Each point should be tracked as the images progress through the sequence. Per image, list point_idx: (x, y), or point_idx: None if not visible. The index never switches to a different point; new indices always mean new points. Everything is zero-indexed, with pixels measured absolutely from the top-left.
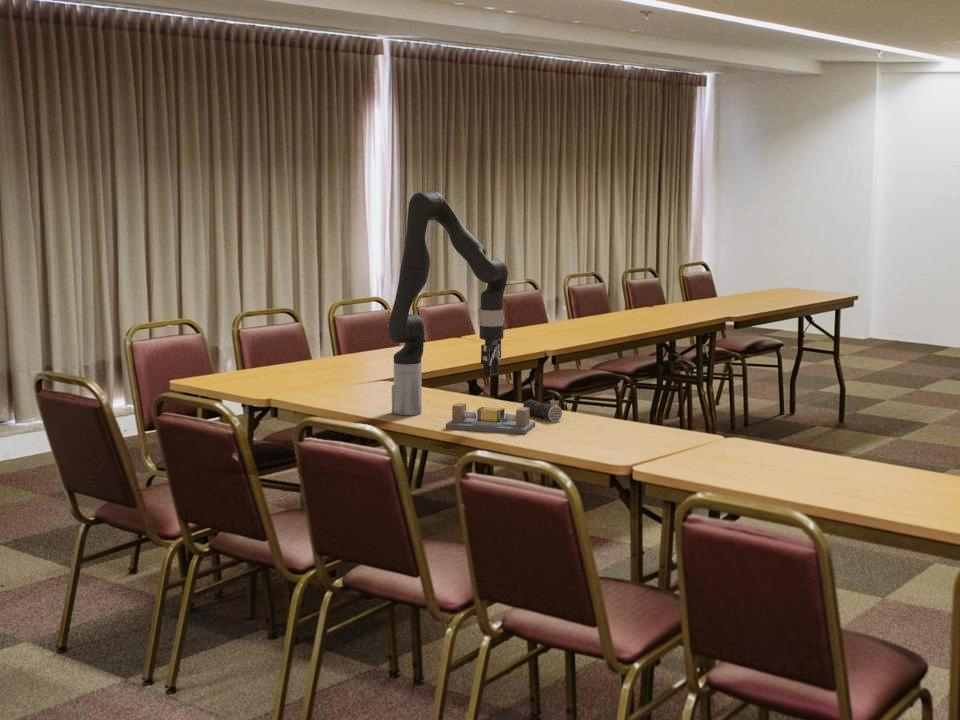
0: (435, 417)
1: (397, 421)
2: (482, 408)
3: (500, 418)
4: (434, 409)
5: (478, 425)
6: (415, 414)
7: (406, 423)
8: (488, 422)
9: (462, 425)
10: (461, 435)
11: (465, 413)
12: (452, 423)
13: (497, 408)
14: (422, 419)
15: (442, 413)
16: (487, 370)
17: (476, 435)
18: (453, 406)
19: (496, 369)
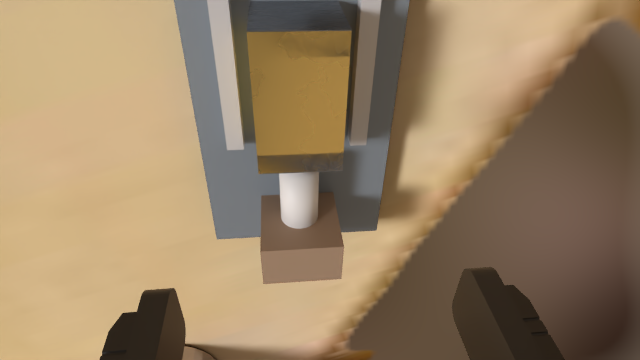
0: (192, 299)
1: (303, 349)
2: (303, 155)
3: (341, 12)
4: (63, 340)
5: (377, 108)
6: (194, 348)
7: (322, 326)
8: (372, 68)
9: (384, 171)
10: (490, 129)
11: (317, 208)
12: (361, 213)
13: (270, 75)
14: (244, 315)
15: (111, 304)
16: (550, 347)
17: (486, 70)
18: (341, 272)
19: (166, 331)
